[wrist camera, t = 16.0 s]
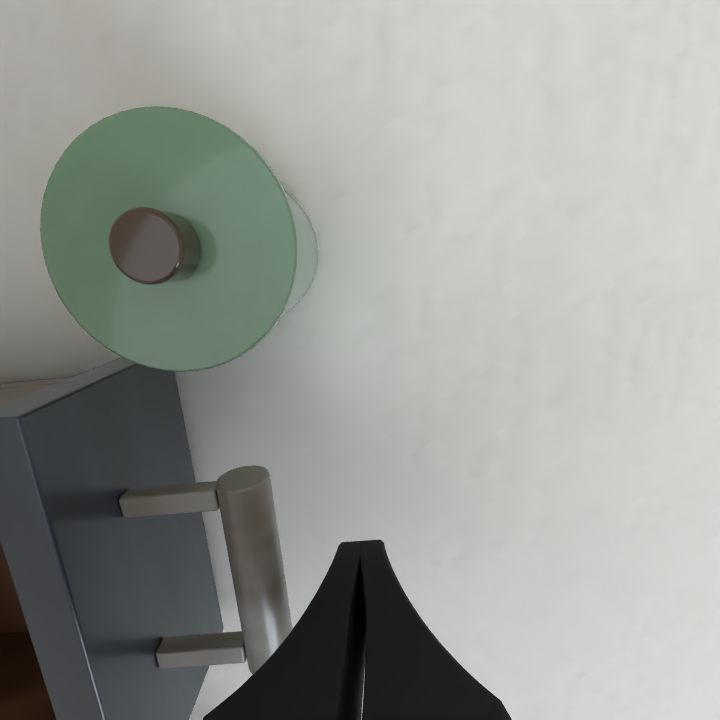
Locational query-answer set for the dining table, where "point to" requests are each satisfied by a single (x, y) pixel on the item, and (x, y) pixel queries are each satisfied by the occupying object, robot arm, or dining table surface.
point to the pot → (173, 239)
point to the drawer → (122, 552)
